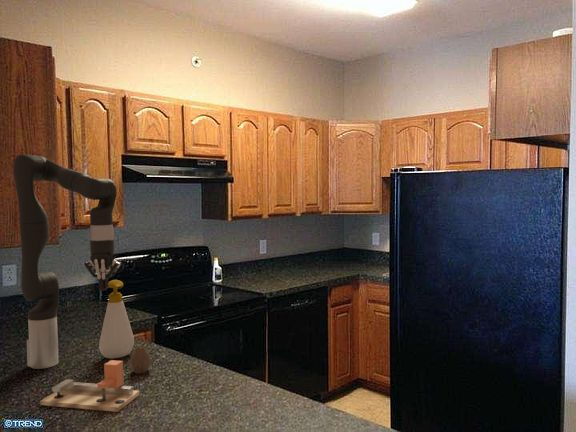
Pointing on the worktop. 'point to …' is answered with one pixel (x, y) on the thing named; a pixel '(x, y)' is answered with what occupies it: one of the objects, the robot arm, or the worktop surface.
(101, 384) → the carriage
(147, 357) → the vase
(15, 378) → the worktop surface
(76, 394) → the hole board
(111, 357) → the soap bottle
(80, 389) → the rail
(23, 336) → the worktop surface
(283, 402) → the worktop surface
